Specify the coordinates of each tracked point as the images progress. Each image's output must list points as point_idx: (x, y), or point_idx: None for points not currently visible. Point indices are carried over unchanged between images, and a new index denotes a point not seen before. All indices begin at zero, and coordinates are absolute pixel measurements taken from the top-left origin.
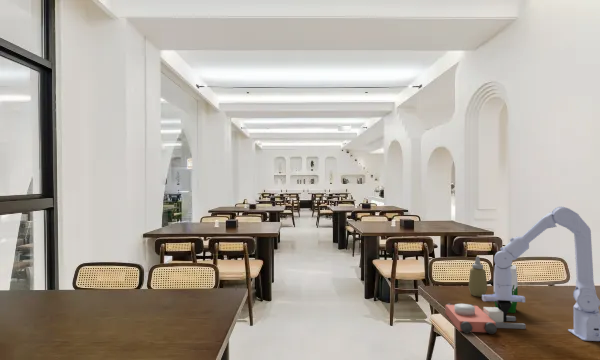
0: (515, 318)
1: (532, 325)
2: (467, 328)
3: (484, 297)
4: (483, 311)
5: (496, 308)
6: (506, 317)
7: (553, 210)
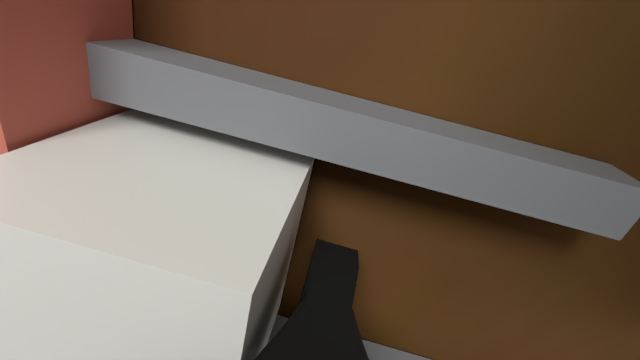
0: (599, 228)
1: (637, 347)
2: None
3: None
4: (20, 158)
5: (193, 348)
6: (464, 194)
7: None
